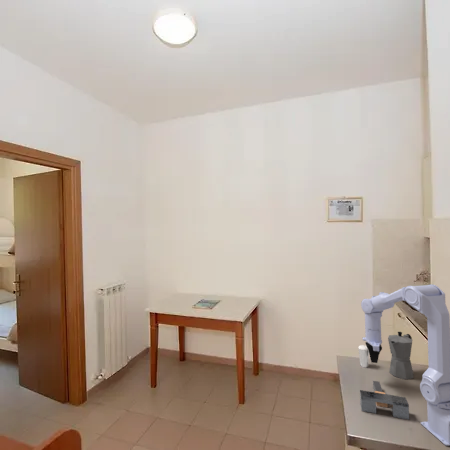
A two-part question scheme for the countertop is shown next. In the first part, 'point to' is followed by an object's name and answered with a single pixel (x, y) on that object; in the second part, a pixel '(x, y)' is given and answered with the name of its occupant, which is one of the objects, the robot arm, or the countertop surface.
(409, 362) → the coffeepot
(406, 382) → the countertop surface
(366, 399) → the grey bridge block
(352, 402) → the countertop surface
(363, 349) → the milkshake
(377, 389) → the plug
